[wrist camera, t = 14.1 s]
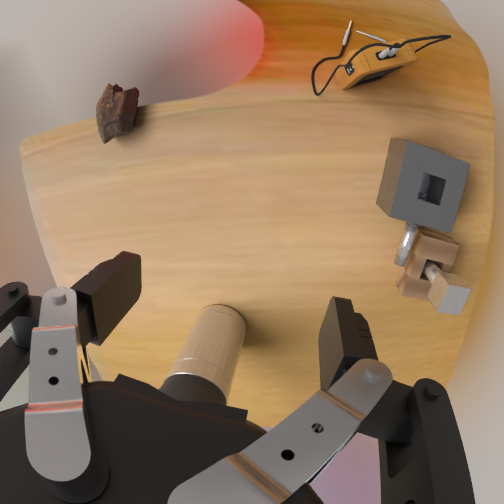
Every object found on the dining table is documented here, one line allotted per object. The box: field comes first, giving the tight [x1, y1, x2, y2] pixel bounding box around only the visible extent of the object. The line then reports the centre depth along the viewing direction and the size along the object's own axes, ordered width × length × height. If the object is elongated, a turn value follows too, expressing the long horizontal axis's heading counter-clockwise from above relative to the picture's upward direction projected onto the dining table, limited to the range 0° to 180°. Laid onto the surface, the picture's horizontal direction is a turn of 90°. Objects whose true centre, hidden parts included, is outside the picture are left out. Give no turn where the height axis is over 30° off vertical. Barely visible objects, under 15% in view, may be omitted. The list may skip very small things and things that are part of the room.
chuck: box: [376, 138, 470, 267], centre depth 38 cm, size 17×10×7 cm, turn 171°
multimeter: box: [312, 20, 451, 96], centre depth 25 cm, size 15×10×20 cm
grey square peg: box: [422, 259, 471, 315], centre depth 37 cm, size 4×4×12 cm
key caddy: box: [395, 228, 460, 301], centre depth 42 cm, size 10×7×4 cm
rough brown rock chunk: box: [96, 84, 139, 144], centre depth 40 cm, size 6×7×10 cm
